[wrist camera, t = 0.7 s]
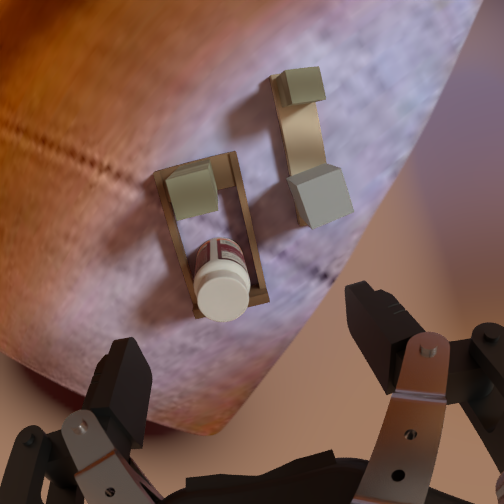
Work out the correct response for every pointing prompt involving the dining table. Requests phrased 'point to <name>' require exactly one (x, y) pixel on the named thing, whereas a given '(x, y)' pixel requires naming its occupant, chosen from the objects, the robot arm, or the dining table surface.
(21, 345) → the dining table surface
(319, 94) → the birch slat
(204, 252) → the pill bottle
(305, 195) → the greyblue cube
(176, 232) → the open wooden frame
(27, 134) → the dining table surface
